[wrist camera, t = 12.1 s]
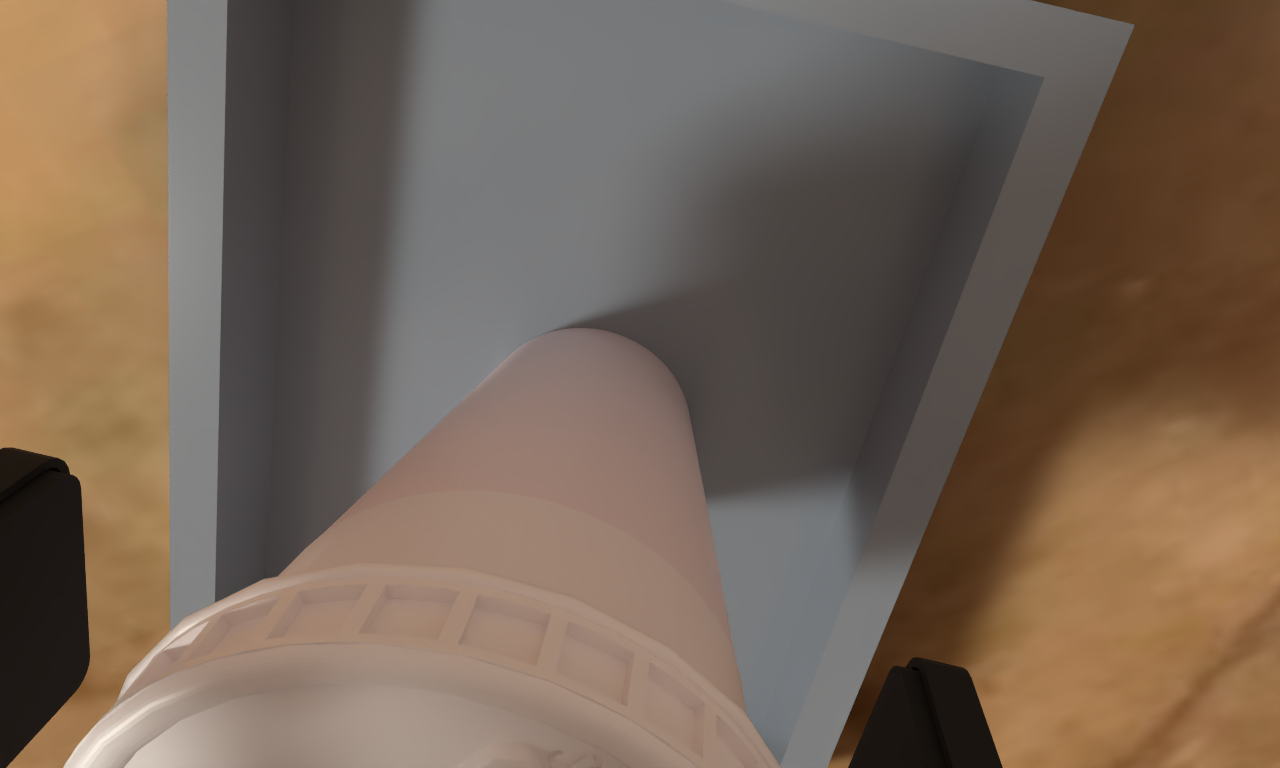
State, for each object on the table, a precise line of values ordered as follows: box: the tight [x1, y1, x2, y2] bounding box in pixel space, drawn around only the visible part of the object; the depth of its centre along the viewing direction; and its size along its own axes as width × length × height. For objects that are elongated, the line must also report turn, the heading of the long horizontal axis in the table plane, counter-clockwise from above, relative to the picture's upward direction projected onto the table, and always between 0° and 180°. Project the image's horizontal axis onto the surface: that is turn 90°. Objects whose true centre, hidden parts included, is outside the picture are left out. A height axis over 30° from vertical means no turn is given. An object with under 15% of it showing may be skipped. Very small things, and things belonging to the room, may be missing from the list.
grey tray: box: [167, 0, 1135, 768], centre depth 16 cm, size 12×16×3 cm
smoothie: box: [63, 328, 781, 768], centre depth 10 cm, size 6×6×14 cm
